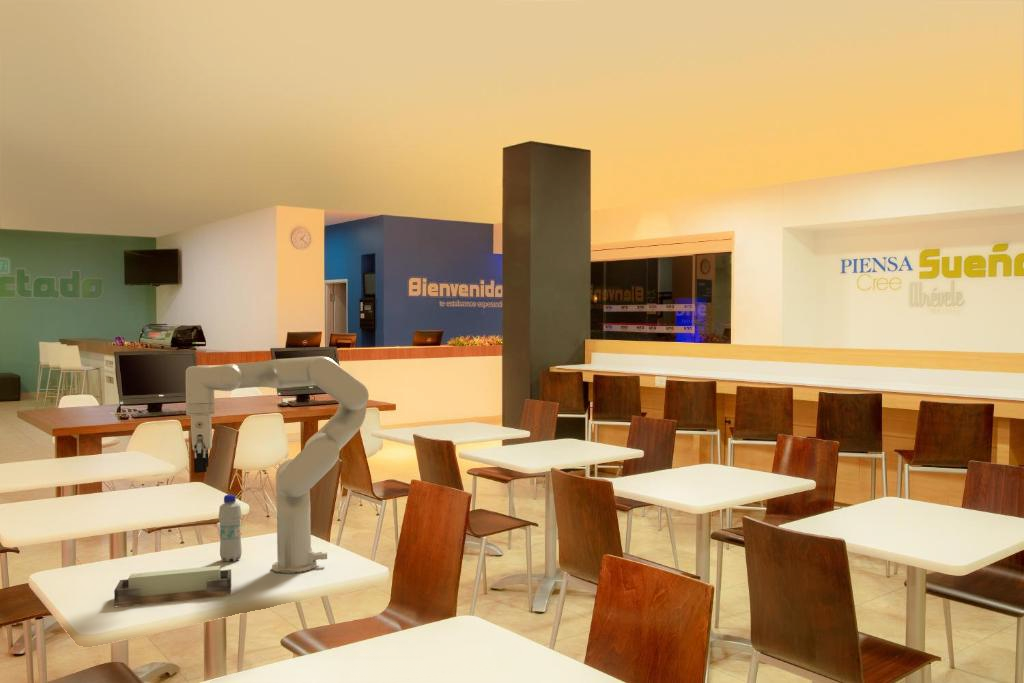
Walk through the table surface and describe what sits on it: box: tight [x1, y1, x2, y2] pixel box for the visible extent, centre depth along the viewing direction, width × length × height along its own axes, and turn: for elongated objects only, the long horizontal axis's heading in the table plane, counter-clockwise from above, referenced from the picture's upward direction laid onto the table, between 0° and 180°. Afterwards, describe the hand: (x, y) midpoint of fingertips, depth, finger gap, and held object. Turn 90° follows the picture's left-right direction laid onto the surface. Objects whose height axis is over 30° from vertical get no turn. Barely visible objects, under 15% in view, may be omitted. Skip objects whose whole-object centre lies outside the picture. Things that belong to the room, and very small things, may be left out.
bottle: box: [218, 493, 243, 563], centre depth 248 cm, size 7×7×20 cm
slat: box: [127, 565, 221, 596], centre depth 214 cm, size 22×4×5 cm, turn 107°
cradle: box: [113, 568, 232, 607], centre depth 214 cm, size 28×10×4 cm, turn 108°
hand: (201, 469), depth 231 cm, fingers open, 9 cm apart
